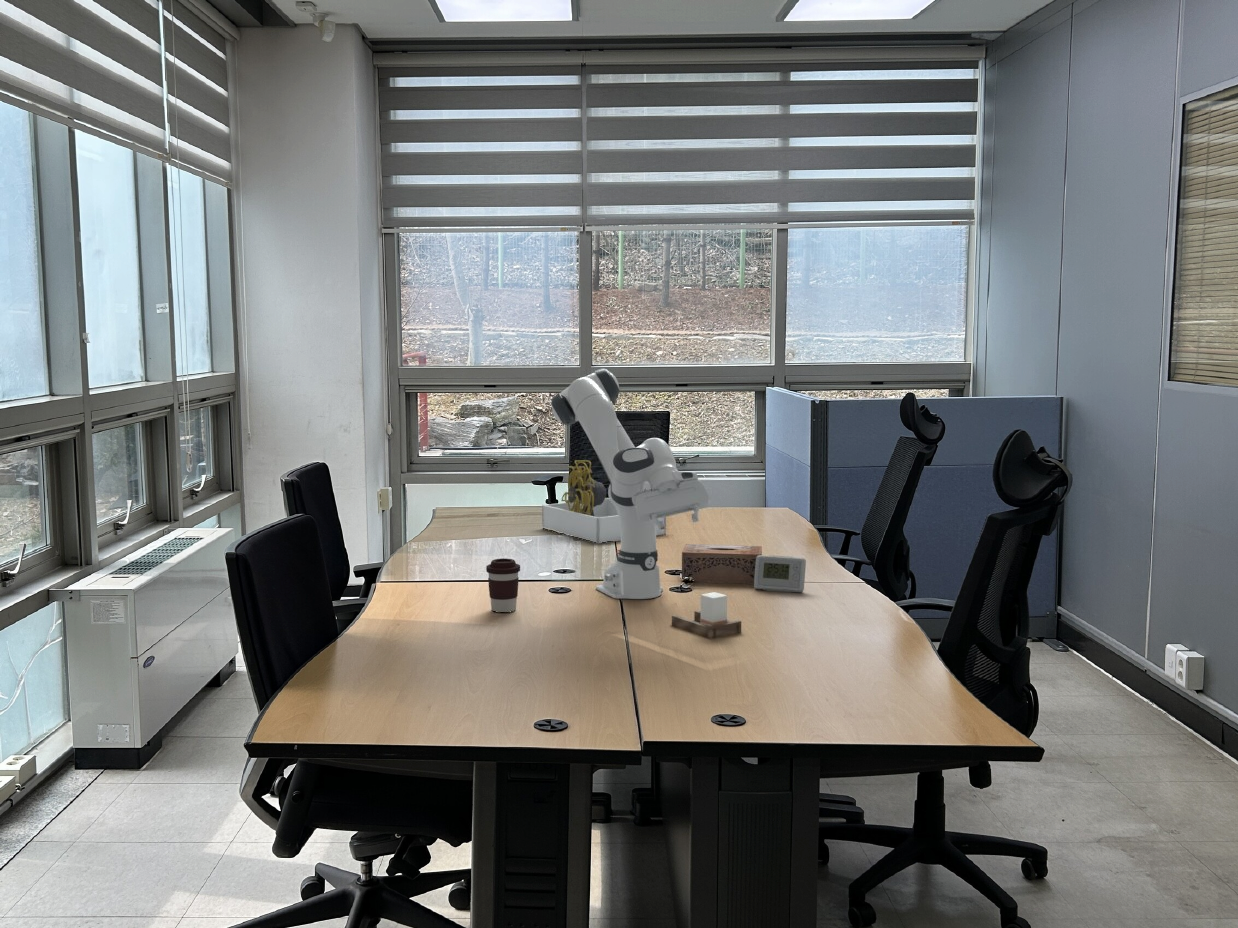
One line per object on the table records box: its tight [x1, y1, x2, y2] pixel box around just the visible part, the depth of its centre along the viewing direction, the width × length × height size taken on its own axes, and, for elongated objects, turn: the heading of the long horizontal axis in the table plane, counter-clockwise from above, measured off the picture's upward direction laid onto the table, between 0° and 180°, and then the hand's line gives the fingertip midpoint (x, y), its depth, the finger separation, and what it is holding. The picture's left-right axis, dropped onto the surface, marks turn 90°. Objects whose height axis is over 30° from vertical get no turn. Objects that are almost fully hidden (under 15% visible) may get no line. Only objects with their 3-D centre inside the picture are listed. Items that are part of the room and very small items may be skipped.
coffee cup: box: [485, 557, 521, 613], centre depth 319 cm, size 10×10×15 cm
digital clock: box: [753, 554, 807, 593], centre depth 345 cm, size 16×9×11 cm, turn 60°
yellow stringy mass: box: [560, 459, 607, 517], centre depth 446 cm, size 26×32×30 cm
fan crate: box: [541, 497, 667, 544], centre depth 447 cm, size 40×34×10 cm
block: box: [700, 591, 728, 626], centre depth 292 cm, size 6×5×10 cm
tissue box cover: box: [681, 543, 763, 584], centre depth 363 cm, size 26×14×10 cm, turn 81°
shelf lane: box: [669, 610, 742, 640], centre depth 295 cm, size 17×11×4 cm, turn 37°
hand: (678, 524), depth 291 cm, fingers open, 8 cm apart
